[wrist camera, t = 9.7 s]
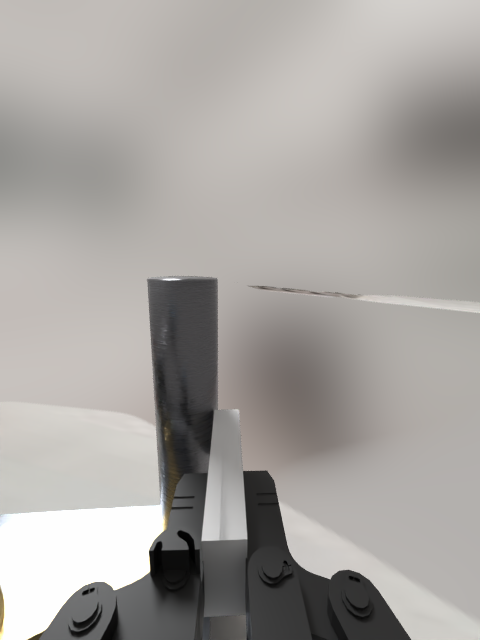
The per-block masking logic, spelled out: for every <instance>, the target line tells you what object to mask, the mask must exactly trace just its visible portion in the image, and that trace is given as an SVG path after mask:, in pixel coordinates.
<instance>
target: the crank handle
mask: <svg viewBox="0 0 480 640" xmlns="http://www.w3.org/2000/svg"><path fill="white" fill-rule="evenodd" d="M147 281H148V298H149V313H150V331H151V348H152V364H153V380H154V381H153V382H154V399H155V415H156V433H157V450H158V467H159V484H160V501H161V518H162V523H160V524H158V525H156V526H153V527H151V528H149V529H147V530H145V531H142V532H140V533H138V534H136V535H134V536H132V537H129V538H127V539H125V540H123V541H121V542H119V543H116V544H114V545H112V546H110V547H108V548H106V549H103V550H101V551H99V552H97V553H95V554H93V555H90V556H88V557H86V558H84V559H82V560H80V561H77V562H75V563H73V564H71V565H69V566H66V567H64V568H62V569H60V570H58V571H56V572H53V573H51V574H49V575H47V576H45V577H43V578H40V579H38V580H36V581H34V582H32V583H30V584H27V585H25V586H23V587H21V588H19V589H17V590H14V591H12V592H10V593H8V594H6V595H4V596H3V592H2V588H1V585H0V640H39V639H40V637H41V636H42V634H43V633H44V631H45V630H46V628H47V627H48V626H49V624H50V623H51V621H52V620H53V618H54V617H55V615H56V614H57V613H58V611H59V610H60V608H61V607H62V605H63V604H64V603H65V602H66V601H67V600H68V598H69V597H70V596H71V595H72V594H73V593H74V592H76V591H77V590H78V589H80V588H81V587H82V586H84V585H87V584H89V583H92V582H95V581H105V582H107V583H108V584H110V585H111V586H112V587H113V589H114V590H116V589H118V588H121V587H123V586H125V585H128V584H130V583H133V582H135V581H137V580H139V579H141V578H142V577H143V576H145V575H146V574H147V573H148V572H149V571H150V564H149V548H150V546H151V544H152V542H153V540H154V539H155V538H156V537H157V536H158V535H159V534H160V533H161V532H163V531H165V530H166V529H167V525H168V521H169V516H170V512H171V509H172V503H173V499H174V495H175V491H176V486H177V484H178V482H179V481H180V479H181V478H182V477H183V475H184V474H190V473H208V470H209V460H210V449H211V439H212V429H213V419H214V410H218V315H217V314H218V310H217V309H218V293H217V292H218V285H217V283H218V282H217V278H212V277H197V276H195V277H194V276H168V277H152V278H148V279H147Z"/></svg>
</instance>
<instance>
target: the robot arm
mask: <svg viewBox="0 0 480 640" xmlns="http://www.w3.org/2000/svg"><path fill="white" fill-rule="evenodd" d="M149 564H150V571H149V572H148V573H147V574H146V575H145V576H143V577H142V578H141V579H139V580H137V581H135V582H133V583H130V584H128V585H125V586H123V587H121V588H118V589H116V590H114V589H113V587H112V586H111V585H110V584H108V583H107V582H105V581H95V582H92V583H89V584H87V585H84V586H82V587H81V588H80V589H78V590H77V591H76V592H74V593H73V594H72V595H71V596H70V597H69V598H68V600H67V601H66V602H65V603H64V604H63V605H62V607H61V608H60V610H59V611H58V613H57V614H56V615H55V617H54V618H53V620H52V621H51V623H50V624H49V626H48V627H47V628H46V630H45V631H44V633H43V634H42V636H41V637H40V639H39V640H203V618H204V617H217V616H236V615H246V626H247V640H411V639H410V637H409V636H408V634H407V633H406V631H405V630H404V628H403V627H402V625H401V624H400V622H399V621H398V619H397V618H396V616H395V615H394V613H393V612H392V610H391V609H390V607H389V606H388V604H387V603H386V601H385V600H384V598H383V597H382V596H381V594H380V593H379V591H378V590H377V589H376V587H375V586H374V585H373V584H372V583H371V582H370V580H368V579H367V578H365V577H364V576H362V575H361V574H360V573H357V572H354V571H351V570H342V571H338V572H337V573H336V574H334V575H333V576H332V578H331V580H330V579H327V578H324V577H321V576H318V575H315V574H313V573H310V572H308V571H306V570H305V569H303V568H302V567H301V566H299V565H298V563H297V562H296V561H295V560H294V559H293V557H292V556H291V554H290V552H289V549H288V546H287V542H286V537H285V532H284V527H283V522H282V517H281V512H280V507H279V502H278V498H277V493H276V488H275V483H274V480H273V479H272V477H271V476H270V474H269V473H268V472H267V471H243V465H242V449H241V434H240V420H239V410H238V409H234V410H214V419H213V429H212V439H211V449H210V460H209V470H208V473H190V474H184V475H183V477H182V478H181V479H180V481H179V482H178V484H177V486H176V491H175V495H174V499H173V503H172V509H171V512H170V516H169V521H168V525H167V529H166V530H165V531H163V532H161V533H160V534H159V535H158V536H157V537H156V538H155V539H154V540H153V542H152V544H151V546H150V548H149Z"/></svg>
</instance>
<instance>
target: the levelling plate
mask: <svg viewBox="0 0 480 640" xmlns="http://www.w3.org/2000/svg"><path fill="white" fill-rule="evenodd" d="M160 523H162V518H161V505H159V506H142V507H124V508H107V509H90V510H72V511H55V512H38V513H20V514H3V515H0V585H1V588H2V592H3V596H4V595H6V594H8V593H10V592H12V591H14V590H17V589H19V588H21V587H23V586H25V585H27V584H30V583H32V582H34V581H36V580H38V579H40V578H43V577H45V576H47V575H49V574H51V573H53V572H56V571H58V570H60V569H62V568H64V567H66V566H69V565H71V564H73V563H75V562H77V561H80V560H82V559H84V558H86V557H88V556H90V555H93V554H95V553H97V552H99V551H101V550H103V549H106V548H108V547H110V546H112V545H114V544H116V543H119V542H121V541H123V540H125V539H127V538H129V537H132V536H134V535H136V534H138V533H140V532H142V531H145V530H147V529H149V528H151V527H153V526H156V525H158V524H160ZM203 640H210V617H204V618H203Z"/></svg>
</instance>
